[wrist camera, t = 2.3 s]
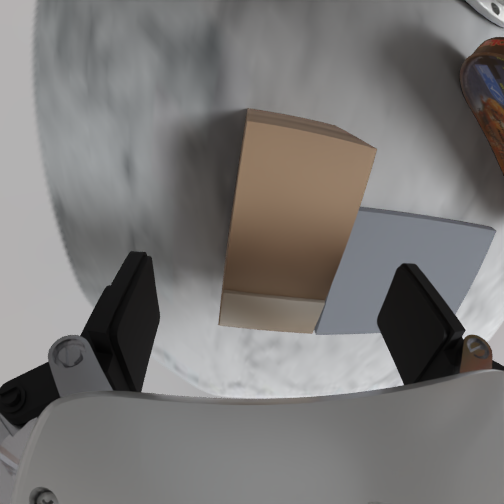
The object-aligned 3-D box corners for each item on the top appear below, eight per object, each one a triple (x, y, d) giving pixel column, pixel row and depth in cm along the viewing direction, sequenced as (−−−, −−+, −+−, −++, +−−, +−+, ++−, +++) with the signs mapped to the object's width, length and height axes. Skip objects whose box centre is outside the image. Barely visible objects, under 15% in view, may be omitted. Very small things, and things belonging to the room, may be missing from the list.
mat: (348, 205, 16) (351, 209, 15) (491, 227, 17) (496, 230, 16) (314, 328, 21) (315, 334, 21) (444, 322, 22) (447, 327, 21)
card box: (247, 108, 13) (247, 121, 8) (334, 125, 14) (379, 150, 9) (225, 259, 18) (218, 328, 13) (296, 267, 18) (311, 336, 14)
